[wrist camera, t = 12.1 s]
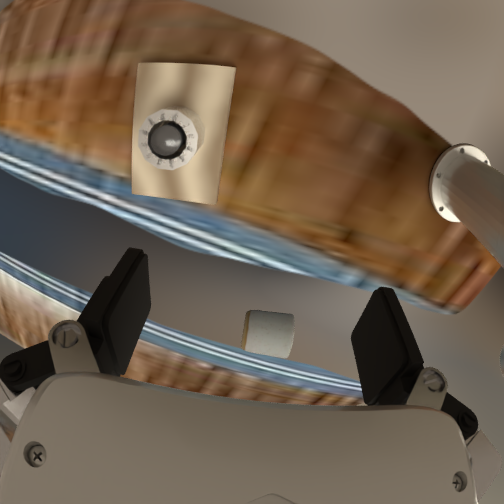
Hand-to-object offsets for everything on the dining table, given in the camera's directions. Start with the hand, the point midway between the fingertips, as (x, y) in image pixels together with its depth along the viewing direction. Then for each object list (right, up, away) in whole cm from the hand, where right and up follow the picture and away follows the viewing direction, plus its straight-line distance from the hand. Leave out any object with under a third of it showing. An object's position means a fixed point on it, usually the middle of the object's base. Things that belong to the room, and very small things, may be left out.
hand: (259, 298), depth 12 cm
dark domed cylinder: (-10, +16, +22) cm, 29 cm away
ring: (-9, +16, +22) cm, 29 cm away
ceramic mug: (+3, -11, +41) cm, 43 cm away
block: (-9, +17, +23) cm, 30 cm away
